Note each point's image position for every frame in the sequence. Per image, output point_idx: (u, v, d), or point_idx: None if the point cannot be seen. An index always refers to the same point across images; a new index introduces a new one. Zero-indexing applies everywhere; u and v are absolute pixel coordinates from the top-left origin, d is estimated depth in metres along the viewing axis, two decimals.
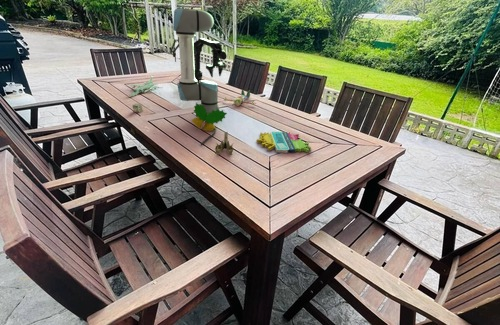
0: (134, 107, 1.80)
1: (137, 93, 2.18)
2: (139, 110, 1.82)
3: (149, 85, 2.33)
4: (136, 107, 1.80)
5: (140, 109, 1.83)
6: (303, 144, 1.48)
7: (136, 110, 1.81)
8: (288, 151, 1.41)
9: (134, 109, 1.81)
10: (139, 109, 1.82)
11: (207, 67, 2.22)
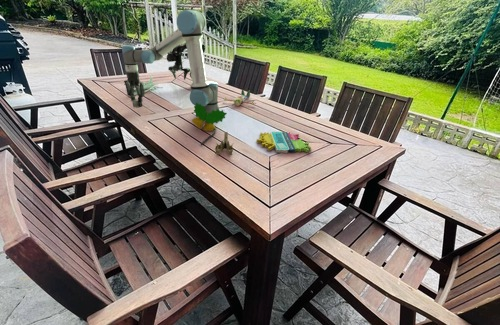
0: (134, 102, 1.79)
1: None
2: None
3: (149, 85, 2.33)
4: (136, 102, 1.78)
5: None
6: (303, 144, 1.48)
7: (136, 105, 1.79)
8: (288, 151, 1.41)
9: (134, 104, 1.79)
10: None
11: None
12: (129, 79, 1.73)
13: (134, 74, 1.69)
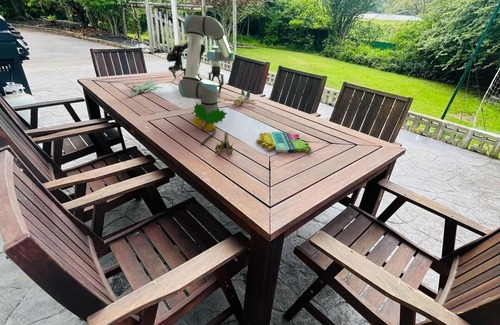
0: None
1: (137, 93, 2.18)
2: None
3: (149, 85, 2.33)
4: None
5: (218, 91, 2.38)
6: (303, 144, 1.48)
7: None
8: (288, 151, 1.41)
9: None
10: None
11: None
12: (213, 71, 2.30)
13: (218, 68, 2.26)
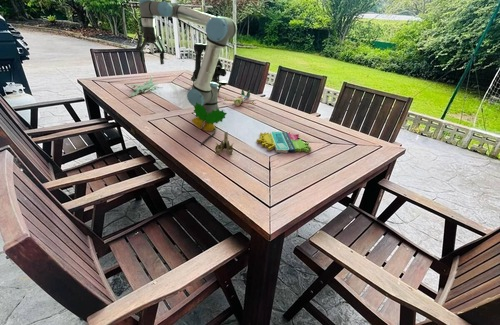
0: None
1: (137, 93, 2.18)
2: None
3: (149, 85, 2.33)
4: None
5: None
6: (303, 144, 1.48)
7: None
8: (288, 151, 1.41)
9: None
10: None
11: None
12: (145, 35, 1.61)
13: (151, 29, 1.57)
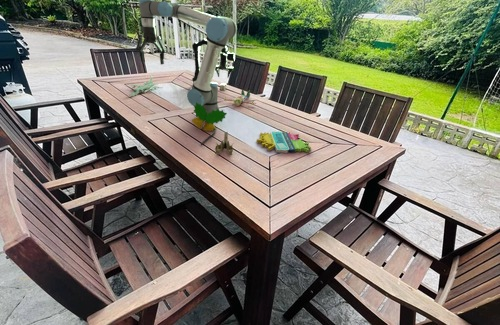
0: (221, 86, 2.50)
1: (137, 93, 2.18)
2: (224, 88, 2.52)
3: (149, 85, 2.33)
4: (223, 86, 2.50)
5: (225, 87, 2.53)
6: (303, 144, 1.48)
7: (222, 88, 2.51)
8: (288, 151, 1.41)
9: (221, 87, 2.51)
10: (224, 87, 2.51)
11: None
12: (145, 35, 1.61)
13: (151, 29, 1.57)
